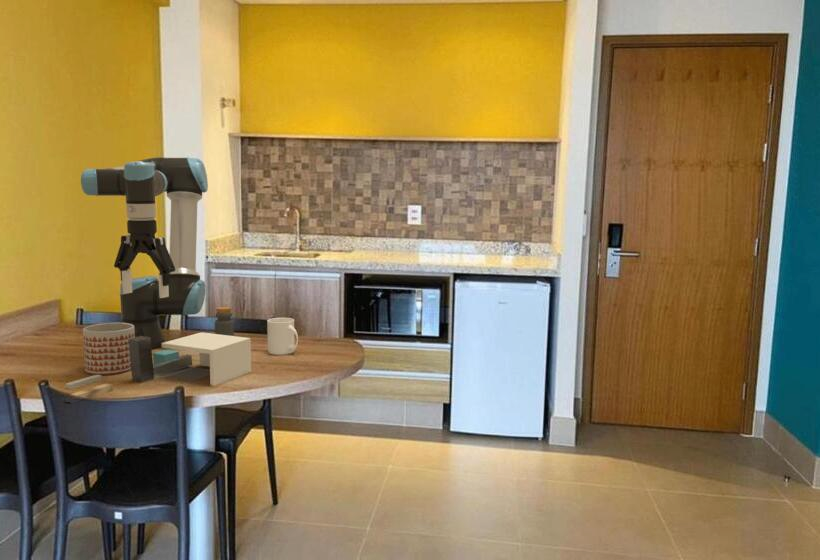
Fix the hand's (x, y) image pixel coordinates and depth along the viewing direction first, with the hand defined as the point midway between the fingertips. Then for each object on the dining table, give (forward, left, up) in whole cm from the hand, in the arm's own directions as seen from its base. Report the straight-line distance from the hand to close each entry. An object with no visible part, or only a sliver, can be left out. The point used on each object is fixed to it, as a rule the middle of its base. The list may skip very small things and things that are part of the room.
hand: (145, 295), depth 184 cm
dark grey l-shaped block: (+3, +2, -23) cm, 23 cm away
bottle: (+2, +30, -23) cm, 38 cm away
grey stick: (-9, -14, -24) cm, 29 cm away
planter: (-15, 0, -23) cm, 28 cm away
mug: (+19, +39, -23) cm, 49 cm away
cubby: (+15, +7, -23) cm, 28 cm away
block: (0, +6, -23) cm, 24 cm away
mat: (+5, +6, -23) cm, 24 cm away
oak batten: (+1, -21, -24) cm, 31 cm away
